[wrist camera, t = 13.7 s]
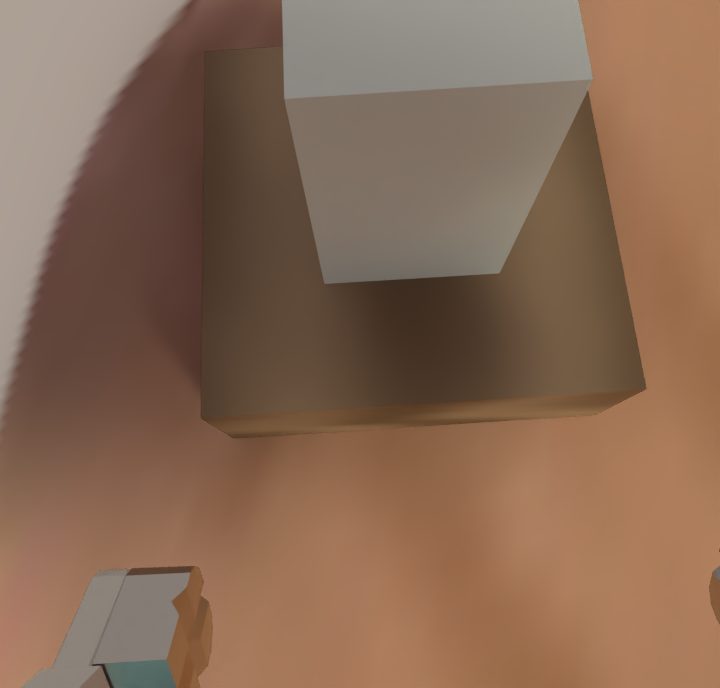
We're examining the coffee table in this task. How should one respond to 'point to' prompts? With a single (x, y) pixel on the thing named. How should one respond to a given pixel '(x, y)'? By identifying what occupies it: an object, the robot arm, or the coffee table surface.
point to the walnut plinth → (395, 295)
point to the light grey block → (427, 126)
